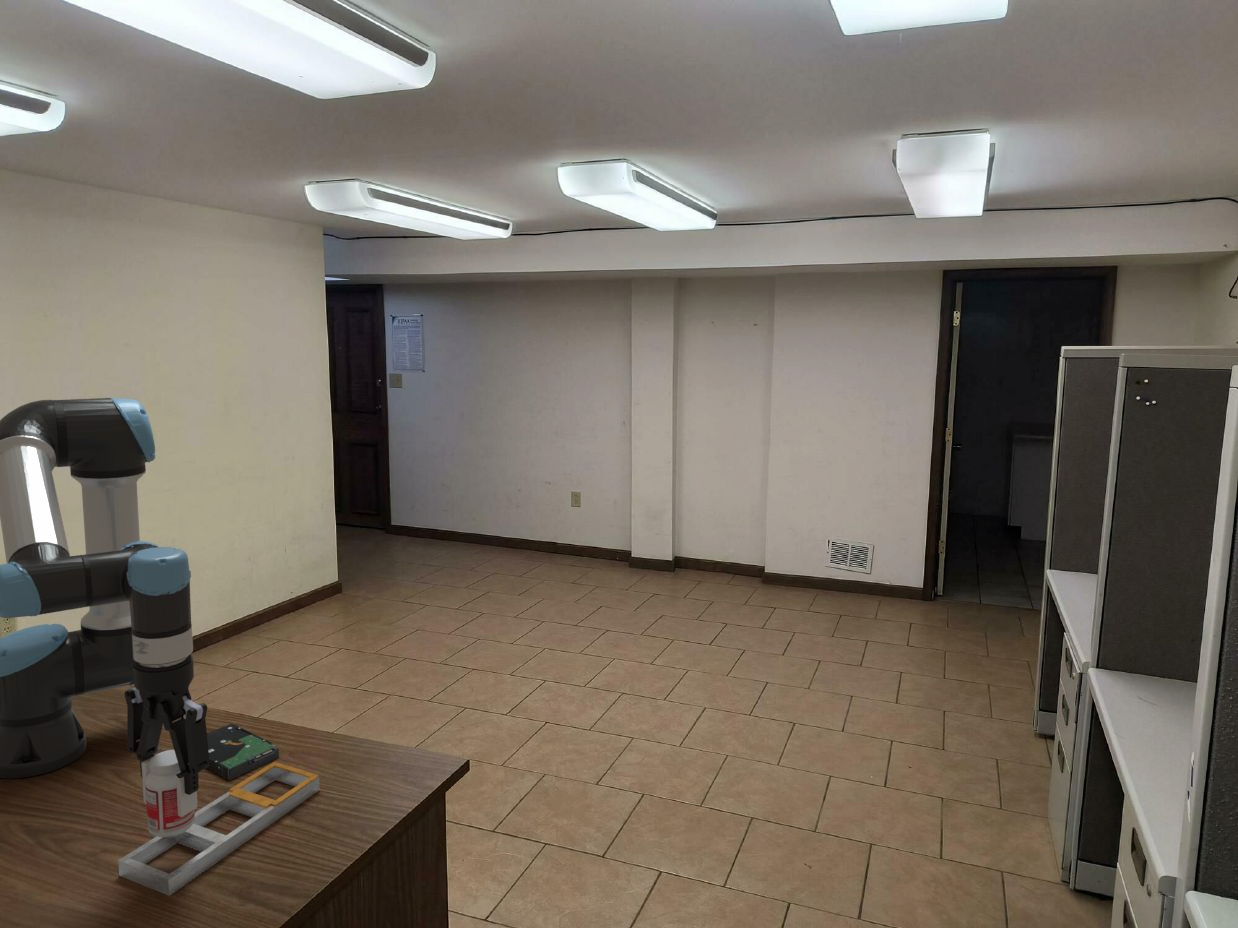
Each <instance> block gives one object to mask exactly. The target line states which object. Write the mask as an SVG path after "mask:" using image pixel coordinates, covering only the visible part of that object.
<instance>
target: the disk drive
mask: <svg viewBox="0 0 1238 928" xmlns="http://www.w3.org/2000/svg"><path fill="white" fill-rule="evenodd" d="M207 740H208V750H209V760H210V765H209V766H208V767H207V768H209V769H211V770H212V772H213V771H214V772H213V773H215V772H216V773H215V774H216V775H218V774H219V775H221V776H223V777H222V778H224V777H225V778H226V779H225V778H224V779H225V780H227V779H228V780H227V781H231V780H233V778H234V779H235V777H236V778H237V776H238V775H240V776H242V775H244V774H246V773H248V771H249V772H251V771H253V770H255V769H256V768H259V767H262V766H263V765H266V764H268V763H271V762H272V761H274V760H277V759H279V756H280V749H278V748H277V746H276V745H275V744H274V743H273V742H272V741H269V740H266V739H264V738H262V737H260V736H259V735H257V734H255V733H253V732H251V731H248V730H247V729H244V728H243V727H241V726H240V725H236V724H234V723H230V724H227V725H224V726H222V727H220V728H218V729H215V730H211V731H210V732H207ZM207 768H206V769H207ZM209 769H208V770H209ZM252 769H253V770H252ZM211 770H210V771H211ZM241 774H242V775H241ZM219 775H218V776H219ZM221 776H220V777H221ZM238 777H239V776H238ZM230 779H231V780H230Z"/></svg>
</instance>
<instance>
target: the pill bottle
mask: <svg viewBox="0 0 1238 928" xmlns="http://www.w3.org/2000/svg"><path fill="white" fill-rule="evenodd" d="M150 771H151V772H150V773H149V774H148V775H147V777H146V779H145V791H146V821H147V823H146V824H147V831H148V832H149V834H150V835H152V836H154V837H171V836H175V835H178V834H181V833H183V832H184V831H186V830H187V829H189V828H190V827H191V826H192V825H193V823H194V820H195V812H196V811H195V809H194V810H192V811H191V812H189V813H188V814H186V815H184V816H183V817H180V816H178V805H177V784H176V774H178V773H179V772H180V768H179V765H178V761H177V758H176V754H175V751H174V749H168V750H163V751H161V752H157V753H155V754H154V756H153V757H152V758H151V760H150Z"/></svg>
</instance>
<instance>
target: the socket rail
mask: <svg viewBox="0 0 1238 928" xmlns="http://www.w3.org/2000/svg"><path fill="white" fill-rule="evenodd" d="M275 781H277V782H280V783H283V784H286V785H289V786H291V787H292V786H293V788H292V789H290V790H289V791H287V792H286V793H284V794H283V795H281V796H280V797H278V798H276V799H274V798H273V799H272V798H271V797H267V796H263V795H261V794H257V793H258V792H259V791H260V790H262V789H264V788H265V787H267V786H268V785H270V784H271V783H273V782H275ZM319 791H320V775H319V774H316V773H314V772H310V771H307V770H303V769H300V768H296V767H294V766H290V765H287V764H284V763H281V762H277V761H273V762H272V763H271V762H270V764H268V765H267V766H264V768H262V769H260V770H259V771H257V772H255V773H253V774H252V775H251V776H249V777H247V778H246V779H245V778H244V780H242V781H241V782H239V783H238V784H236V785H234V786H233V787H231V788H229V790H228V791H227V792H226V793H224V794H223V795H220V796H219V797H218V798H216V799H214V800H213V801H211V802H210V803H208V804H207V805H204V806H203V807H202V808H200V809H198V810H196V811H195V820H194V823H193V825H192V826H191V827H190V828H189V829H187V830H186V831H184V832H183V833H181V834H178V835H175V836H171V837H156V836H154V837H153V838H152V839H150V840H148V841H147V842H145V843H144V844H142V845H140V846H139V847H138V848H137V847H136V848H135V849H134V850H132V851H131V852H129V853H128V854H126V855H125V856H123V857H120V858H119V859H118V875H119V876H118V877H122V878H124V879H127V880H129V881H131V882H134V883H136V884H139V885H141V886H143V887H146V888H149V889H151V890H153V891H156V892H159V893H161V894H164V895H165V896H168V897H170V896H172V895H173V894H175V893H176V892H177V891H179V890H180V889H181V888H183V887H185V886H186V885H187V884H189V883H190V882H192V881H193V880H194V879H196V878H197V877H199V876H200V875H201V874H202V872H203V873H204V872H206V871H207V870H208V869H210V868H211V867H212V866H214V865H216V864H217V863H218V862H220V861H221V860H222V858H223V859H224V858H225V857H227V856H228V855H230V854H232V853H233V852H234V851H235V850H237V849H238V848H239V847H241V846H242V845H244V844H245V843H247V842H248V841H249V840H251V839H252V838H253V837H255V836H257V835H258V834H260V833H261V832H263V830H265V829H267V828H268V827H270V825H272V824H274V823H276V821H278V820H279V819H281V818H282V817H284V816H285V815H286V814H287V813H290V812H291V811H292V810H293V809H295V808H296V807H297V806H299V805H300V804H302V803H303V802H304V801H306V800H307V799H309V798H310V797H312V796H313V795H315V794H316V793H317V792H319ZM226 811H227V812H228V811H233V812H235V813H239V814H241V815H244V816H247V817H250V819H248V820H247V821H245V822H244V823H242V824H241V825H239V826H238V827H236V828H235V829H233V830H232V831H230V832H229V833H228V834H223V833H220V832H218V831H215V830H212V829H209V828H207V827H205V826H206V825H208V824H209V823H211V822H212V821H214V820H216V819H218V818H220V816H221V815H223V814H225V813H227V812H226ZM177 844H179V845H181V844H182V846H184V847H186V848H189V847H190V848H189V849H192V848H193V849H192V850H194V851H197V850H198V852H200V853H198V854H196V856H194V857H191V859H190V860H188V861H187V862H185V863H183V864H182V865H180V866H179V867H178V868H176V869H175V870H173V871H171V872H170V873H168V872H166V871H164V870H160V869H158V868H155V867H153V866H150V865H148V863H149V862H150V861H152V860H154V859H155V858H157V857H159V856H160V855H162V854H163V853H164V852H166V851H168V850H169V849H171V848H172V847H174V846H175V845H177ZM173 845H174V846H173ZM205 870H206V871H205ZM199 874H200V875H199ZM196 876H197V877H196ZM195 877H196V878H195ZM192 879H193V880H192ZM189 881H190V882H189ZM188 882H189V883H188ZM186 883H187V884H186ZM185 884H186V885H185ZM178 889H179V890H178Z"/></svg>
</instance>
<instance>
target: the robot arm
mask: <svg viewBox="0 0 1238 928" xmlns="http://www.w3.org/2000/svg"><path fill="white" fill-rule="evenodd" d="M155 459H156V445H155V438H154V433H153V430H152V426H151V421H150V419H149V416H148V413H147V411H146V408H145V407H144V406H143V404H142V403H141V402H140V401H139V400H136V399H135V398H134V399H133V398H119V397H118V398H117V397H116V398H115V397H101V398H100V397H98V398H97V397H96V398H74V399H72V398H71V399H41V400H36V401H31V402H28V403H25V404H22V405H21V406H18V407H16V408H14V409H13V410H11V411H10V412H8V413H7V414H5V415H4V416H3V417H2V418H1V419H0V526H1V527H0V528H1V532H2V541H3V546H4V547H3V548H4V552H5V553H4V554H5V561H6V563H3V564H0V618H3V619H12V618H14V619H15V618H21V617H23V618H25V617H37V616H39V615H46V614H51V613H57V612H58V613H59V612H64V611H71V610H76V609H82V608H88V607H89V610H88V612H86V613H85V615H83V616H82V617H81V619H80V629H79V630H78V629H77V630H73V631H68V629H67V628H66V626H65V625H62V624H59V623H52V624H48V623H46V624H45V623H44V624H39V625H34V626H29V627H26V628H22V629H19V630H16V631H14V632H12V633H9V634H6V635H5V636H4V637H2V638H0V779H22V778H28V777H35V776H40V775H44V774H47V773H50V772H53V771H56V770H59V769H61V768H64V767H65V766H68V765H70V764H71V763H74V762H75V761H76V760H77V759H79V758H80V757H81V756H82V755H83V754H84V753H85V752H86V749H87V735H86V732H85V731H84V729H83V727H82V724H81V723H80V721H79V719H78V717H77V715H76V713H75V710H74V709H73V699H72V697H76V696H81V695H86V694H90V693H95V692H100V691H105V690H110V689H116V688H121V687H126V686H130V687H131V686H134V687H132V688H129V689H128V690H125V691H124V698H125V701H126V705H127V710H126V711H127V712H126V714H127V725H126V726H127V727H126V728H127V734H126V736H127V743H126V744H127V751H128V753H129V754H135V755H136V758H137V760H138V761H139V768H140V771H139V772H140V777H141V779H142V794H143V803H144V804H146V791H145V779H146V777H147V775H148V774H149V773H150V772H151V771H150V760H151V758H152V757H153V756H155V755H156V754H158V753H159V752H160V751H161V750H162V748H160V747H159V743H160V739H161V734H162V729H163V728H164V730H165V731H167V732H169V736H170V739H171V740H170V741H171V743H172V747H173V750H174V751H175V754H176V758H177V761H178V765H179V768H180V772H179V773H178V774H176V784H177V805H178V816H180V817H183V816H184V815H186V814H188V813H189V812H191V811H192V810H194V809H197V808H198V791H199V788H200V786H199V784H200V783H199V782H200V781H199V773H200V772H202V771H203V770H205V769H207V767H208V766H209V765H210V760H209V750H208V740H207V733H208V732H207V723H206V722H207V721H206V717H207V712H208V706H207V704H206V703H205V702H202V703H199V704H197V702H194V701H193V700H192V695H191V693H190V690H189V689H190V684H191V683H192V681H193V679H194V677H195V673H194V671H195V670H194V656H193V654H192V653H193V652H194V644H193V643H194V640H193V639H194V638H193V627H192V613H191V612H192V610H191V608H192V606H191V579H192V578H191V577H192V574H191V573H192V572H191V570H190V564H189V557H188V554H187V553H186V552H185V550H182V549H180V548H176V547H171V546H158V545H157V544H155V543H153V542H150V541H145V540H144V541H143V540H140V538H141V537H140V520H139V519H140V518H139V501H138V481H139V479H141V478H142V477H143V476H144V475H145V474H146V471H147V470H146V463H151V462H154V461H155ZM63 467H65V468H66V467H67V468H68V467H69V468H70V469H69V470H70V477H71V478H73V479H74V480H75V481H77V482H78V484H80V485H81V486H80V487H81V498H82V512H83V514H82V516H83V526H84V527H83V529H84V543H85V545H84V546H85V554H78V555H77V554H76V555H70V550H69V545H68V541H67V537H66V532H65V527H64V526H65V525H64V522H63V518H62V512H61V509H60V504H59V500H58V499H59V498H58V495H57V490H56V485H55V480H54V476H53V470H54V469H55V468H63Z"/></svg>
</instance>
